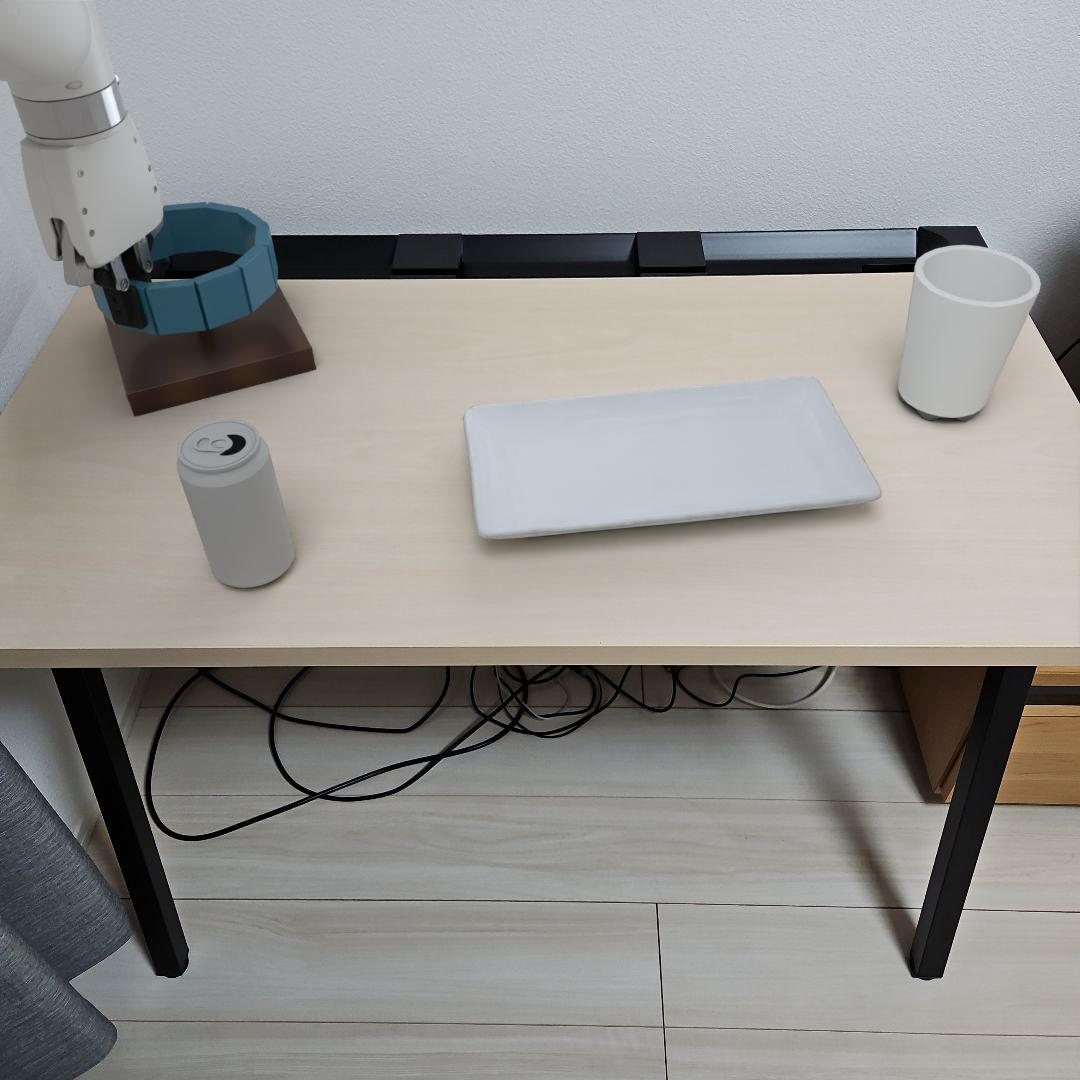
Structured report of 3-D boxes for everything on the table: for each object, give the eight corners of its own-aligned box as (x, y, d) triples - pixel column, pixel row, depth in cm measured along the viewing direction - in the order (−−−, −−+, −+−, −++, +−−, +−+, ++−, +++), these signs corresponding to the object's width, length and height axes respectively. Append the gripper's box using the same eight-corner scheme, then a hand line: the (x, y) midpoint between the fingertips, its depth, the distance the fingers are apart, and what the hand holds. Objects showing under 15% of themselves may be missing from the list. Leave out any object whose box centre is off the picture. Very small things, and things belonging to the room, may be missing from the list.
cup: (1009, 435, 90) (1057, 306, 82) (893, 433, 91) (928, 304, 82) (981, 369, 98) (1022, 244, 89) (874, 367, 98) (904, 242, 89)
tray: (463, 434, 92) (461, 402, 90) (811, 402, 94) (818, 370, 92) (479, 570, 80) (476, 537, 77) (878, 529, 82) (887, 496, 80)
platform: (134, 416, 95) (112, 356, 90) (107, 325, 106) (87, 267, 101) (316, 369, 100) (304, 309, 95) (272, 286, 111) (260, 229, 106)
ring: (110, 352, 90) (94, 306, 87) (86, 266, 101) (71, 223, 98) (300, 308, 95) (291, 263, 92) (257, 231, 106) (248, 188, 103)
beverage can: (288, 594, 78) (254, 471, 70) (203, 594, 79) (159, 472, 70) (303, 535, 83) (273, 414, 75) (223, 535, 83) (184, 414, 75)
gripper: (96, 68, 86) (155, 271, 98) (-42, 141, 75) (44, 358, 88) (173, 78, 84) (223, 284, 96) (42, 154, 73) (118, 374, 86)
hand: (138, 318), depth 92 cm, fingers closed on ring, 1 cm apart
